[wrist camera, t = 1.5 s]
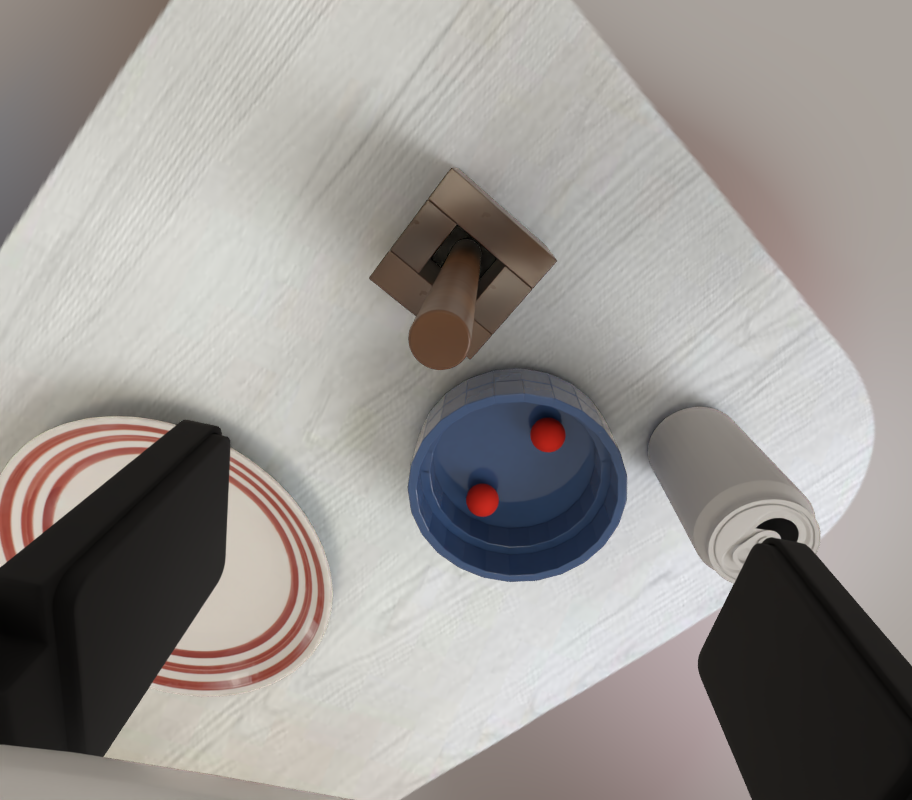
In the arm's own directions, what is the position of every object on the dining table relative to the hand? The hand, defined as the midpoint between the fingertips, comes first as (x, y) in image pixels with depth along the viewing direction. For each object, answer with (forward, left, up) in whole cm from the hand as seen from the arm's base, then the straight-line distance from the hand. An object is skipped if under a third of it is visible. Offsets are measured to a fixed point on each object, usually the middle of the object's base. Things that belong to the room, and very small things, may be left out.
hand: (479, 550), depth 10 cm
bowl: (-10, +9, -29) cm, 32 cm away
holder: (+2, 0, -29) cm, 29 cm away
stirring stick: (+2, 0, -29) cm, 29 cm away
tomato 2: (-10, +5, -28) cm, 30 cm away
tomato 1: (-10, +12, -28) cm, 32 cm away
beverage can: (-19, 0, -29) cm, 35 cm away
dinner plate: (+5, +34, -29) cm, 45 cm away
